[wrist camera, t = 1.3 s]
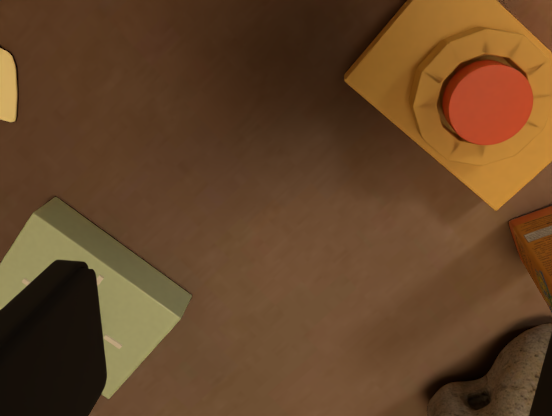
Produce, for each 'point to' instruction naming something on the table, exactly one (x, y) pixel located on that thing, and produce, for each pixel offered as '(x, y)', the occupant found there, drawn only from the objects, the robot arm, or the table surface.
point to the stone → (499, 381)
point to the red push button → (487, 102)
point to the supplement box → (536, 248)
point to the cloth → (8, 87)
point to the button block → (437, 73)
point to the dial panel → (99, 284)
